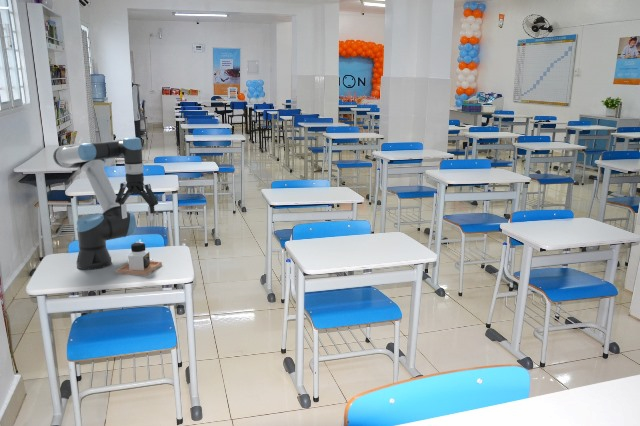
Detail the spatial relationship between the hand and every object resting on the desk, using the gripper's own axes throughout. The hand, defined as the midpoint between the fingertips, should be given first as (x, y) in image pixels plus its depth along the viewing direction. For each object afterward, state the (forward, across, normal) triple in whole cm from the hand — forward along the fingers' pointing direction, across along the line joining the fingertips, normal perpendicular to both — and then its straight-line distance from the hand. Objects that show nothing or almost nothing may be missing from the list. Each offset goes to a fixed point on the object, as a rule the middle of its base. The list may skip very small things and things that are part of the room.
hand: (137, 219), depth 238 cm
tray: (+23, 0, -2) cm, 23 cm away
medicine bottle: (+23, 0, -2) cm, 23 cm away
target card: (+23, -4, +8) cm, 25 cm away
